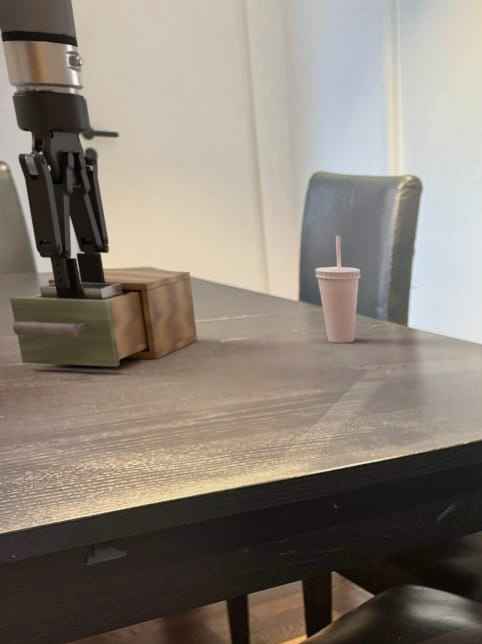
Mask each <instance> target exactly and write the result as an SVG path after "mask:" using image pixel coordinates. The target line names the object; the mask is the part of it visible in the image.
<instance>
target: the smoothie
mask: <svg viewBox="0 0 482 644" xmlns="http://www.w3.org/2000/svg"><path fill="white" fill-rule="evenodd" d="M335 248H336V266H326V267H325V266H324V267H317V268H315V270H314V271H315V275H314V276H315V277H316V278H317V282H318V288H319V289H318V290H319V293H320V300H321V305H322V311H323V318H324V323H325V324H324V325H325V330H326V335H327V342H330V343H335V344H336V343H337V344H346V343H347V344H348V343H352V342H354V341H355V330H356V319H357V318H356V317H357V304H358V293H359V292H358V291H359V280H360V278H361V277H362V275H361V269H360V268H356V267H347V266H346V267H345V266H342V254H341V253H342V252H341V236H340V235H335Z"/></svg>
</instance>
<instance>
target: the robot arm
mask: <svg viewBox="0 0 482 644" xmlns="http://www.w3.org/2000/svg"><path fill="white" fill-rule="evenodd" d="M72 2H73V1H72V0H0V37H1V42H2V46H3V53H4V58H5V64H6V65H5V66H6V70H7V76H8V82H9V84H10V86H11V87H15V88H16V92H14V93H13V95H12V96H11V97H12V102H13V103H12V104H13V107H14V114H15V119H16V124H17V127H18V129H19V130H20V131H22V132H30V134H31V151H30V152H29V153H19V154H18V162H19V166H20V168H21V172H22V175H23V178H24V181H25V188H26V194H27V200H28V206H29V213H30V218H31V225H32V230H33V236H34V242H35V248H36V250H37V253H38V254H39V256H40V257H41V258H45V259H46V258H47V259H50V265H51V270H52V274H53V279H54V281H55V286H56V292H57V297H58V298H68V299H83V296H82V290H81V284H80V278H81V282H90V283H105V278H104V272H103V269H104V267H103V260H102V254H108V253H109V251H110V247H109V236H108V230H107V223H106V219H105V218H106V217H105V212H104V206H103V200H102V193H101V189H100V182H99V169H98V168H99V167H98V165H99V163H98V159H97V157H96V155H86V154H85V151H84V147H83V145H82V142H81V139H80V134H88V133H90V131H91V129H92V128H91V121H90V116H89V107H88V103H87V102H88V101H87V99H86V98H85V96H84V95H81V94H80V91H81V90H83V89H84V88H85V85H84V79H83V73H82V72H83V71H82V66H83V65H84V60H83V58H82V57H81V56H80V53H79V45H78V39H77V38H78V37H77V31H76V24H75V17H74V8H73V3H72ZM71 224H72V228H73V231H74V235H75V238H76V242H77V245H78V248H79V251H80V252H77V253H76V254H75V255H76V257H72V239H71V238H72V237H71ZM79 273H80V278H79Z"/></svg>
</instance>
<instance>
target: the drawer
mask: <svg viewBox="0 0 482 644" xmlns="http://www.w3.org/2000/svg"><path fill="white" fill-rule="evenodd" d="M122 292H123V295H120V296H116V297H113V298H109V299H105V300H93V299H68V298H42V297H41V293H40V294H35V295H31V296H17V295H15V296H11V297H9V300H10V301H9V302H10V306H11V310H12V315H13V320H14V322H13V324H12V330H13V332H14V334H15V335H17V341H18V346H19V350H20V356H21V360H22V363H23V364H25V363H26V364H43V365H63V366H65V365H66V366H67V365H68V366H87V367H89V366H90V367H111V368H112V367H114V368H115V367H118V366H120V365H121V364H120V362H121V361H120V360H122V359H125V358H124V357H127V356H129V355H132V354H134V353H136V352H139V351H141V350H143V349H146V348H148V347H149V343H148V336H147V329H146V321H145V314H144V307H143V300H142V292H141V290H128V289H122Z"/></svg>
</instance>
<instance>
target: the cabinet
mask: <svg viewBox="0 0 482 644" xmlns="http://www.w3.org/2000/svg"><path fill="white" fill-rule="evenodd" d="M103 272H104V278H105V283H119V284H121V285H122V289H128V290H141V292H142V300H143V307H144V314H145V321H146V329H147V336H148V343H149V347H148V348H146V349H143V350H141V351H139V352H136V353H134V354H132V355H129V356H127V357H124V358H123V359H126V358H127V359H128V358H129V359H146V360H148V359H149V360H157V359H159V358H162V357H164V356H166V355H168V354H171V353H172V352H175V351H178V350H179V349H182V348H184V347H186V346H189V345H190V344H192V343H195V342H197V341H198V334H197V326H196V318H195V317H196V316H195V309H194V300H193V292H192V290H193V289H192V284H191V283H192V282H191V273H190V271H178V270H177V271H176V270H175V271H172V270H171V271H170V270H146V269H124V268H123V269H121V268H103ZM79 278H80V273H79ZM47 281H48V285H49V284H54V283H55V281H54V278H50V279H48V280H47ZM80 282H81V278H80Z"/></svg>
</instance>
